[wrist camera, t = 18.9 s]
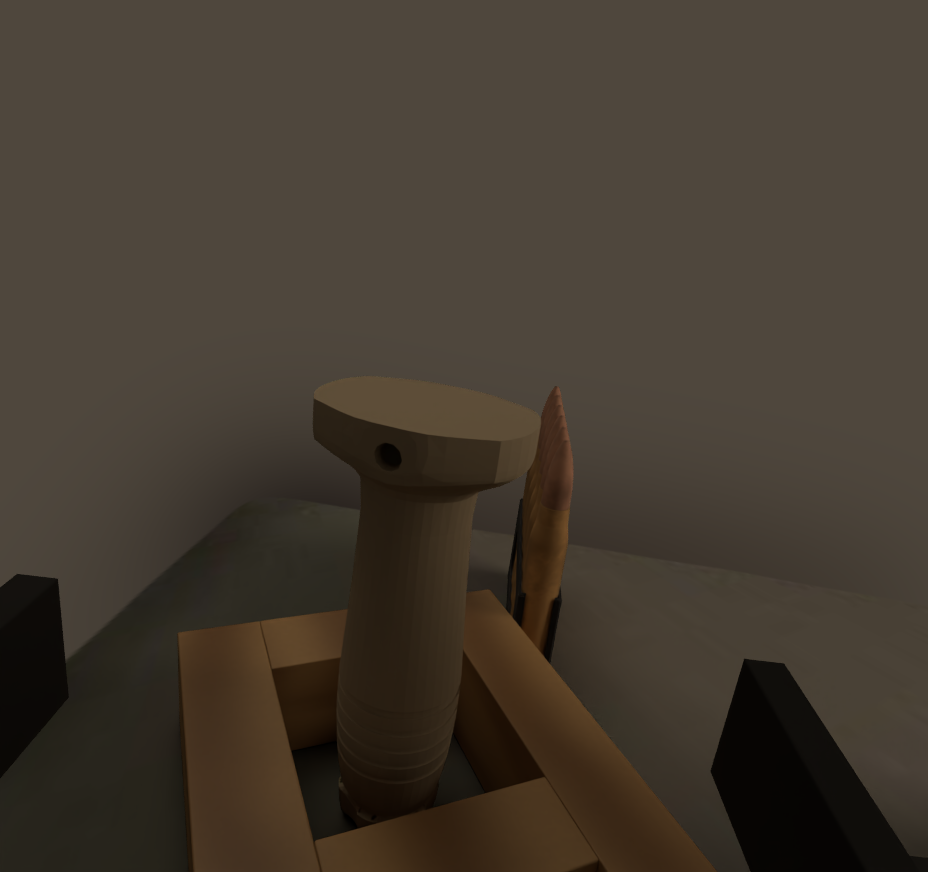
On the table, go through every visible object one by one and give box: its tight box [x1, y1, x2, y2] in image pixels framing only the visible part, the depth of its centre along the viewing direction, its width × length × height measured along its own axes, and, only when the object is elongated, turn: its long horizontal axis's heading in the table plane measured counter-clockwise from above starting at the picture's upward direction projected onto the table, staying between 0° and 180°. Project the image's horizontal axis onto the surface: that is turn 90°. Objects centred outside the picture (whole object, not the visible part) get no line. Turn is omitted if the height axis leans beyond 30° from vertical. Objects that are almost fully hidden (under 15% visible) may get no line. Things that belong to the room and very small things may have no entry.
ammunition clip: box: [506, 386, 573, 664], centre depth 33 cm, size 11×2×12 cm, turn 175°
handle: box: [313, 376, 541, 829], centre depth 21 cm, size 5×6×15 cm
